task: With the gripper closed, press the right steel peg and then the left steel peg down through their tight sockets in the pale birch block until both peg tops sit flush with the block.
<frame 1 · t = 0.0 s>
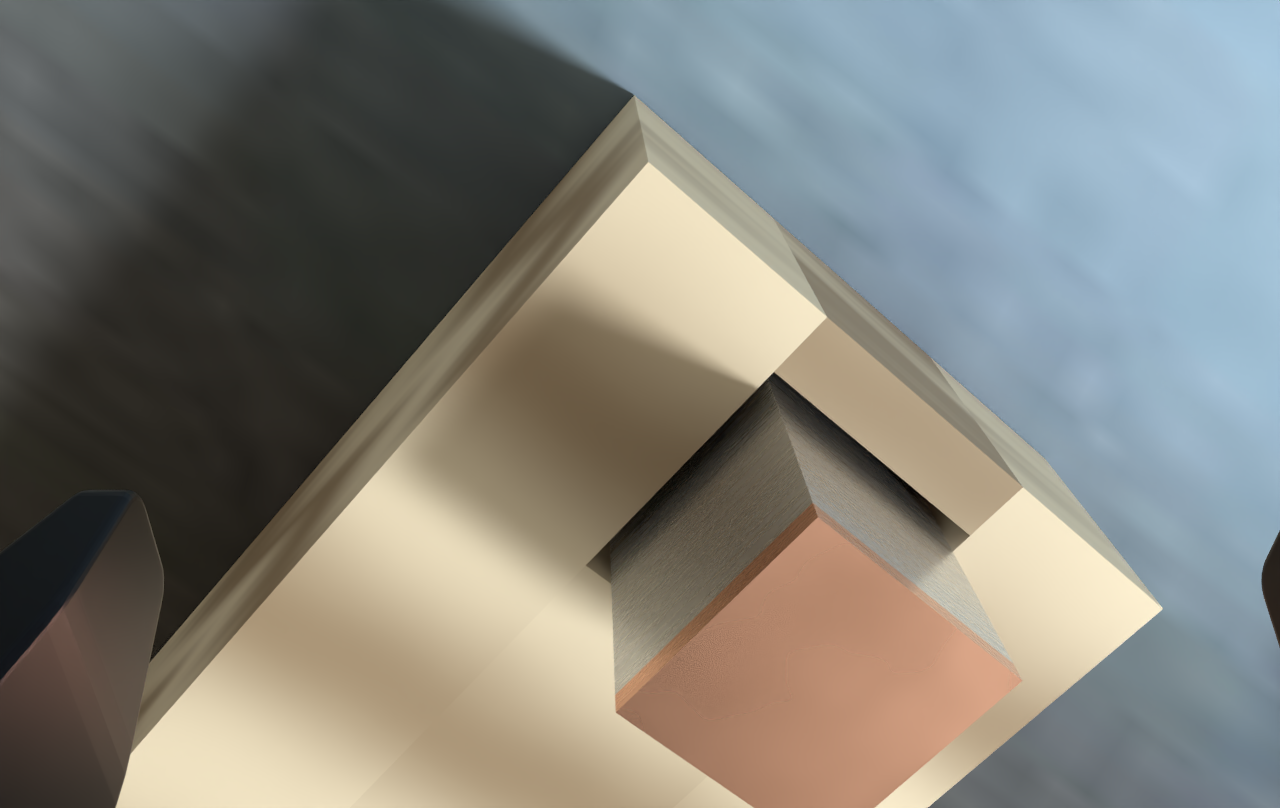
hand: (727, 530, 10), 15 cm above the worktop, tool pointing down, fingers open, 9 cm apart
socket block: (543, 608, 28), on the worktop
peg 1: (787, 585, 20), point 7 cm above the worktop, slide at 4.0 cm
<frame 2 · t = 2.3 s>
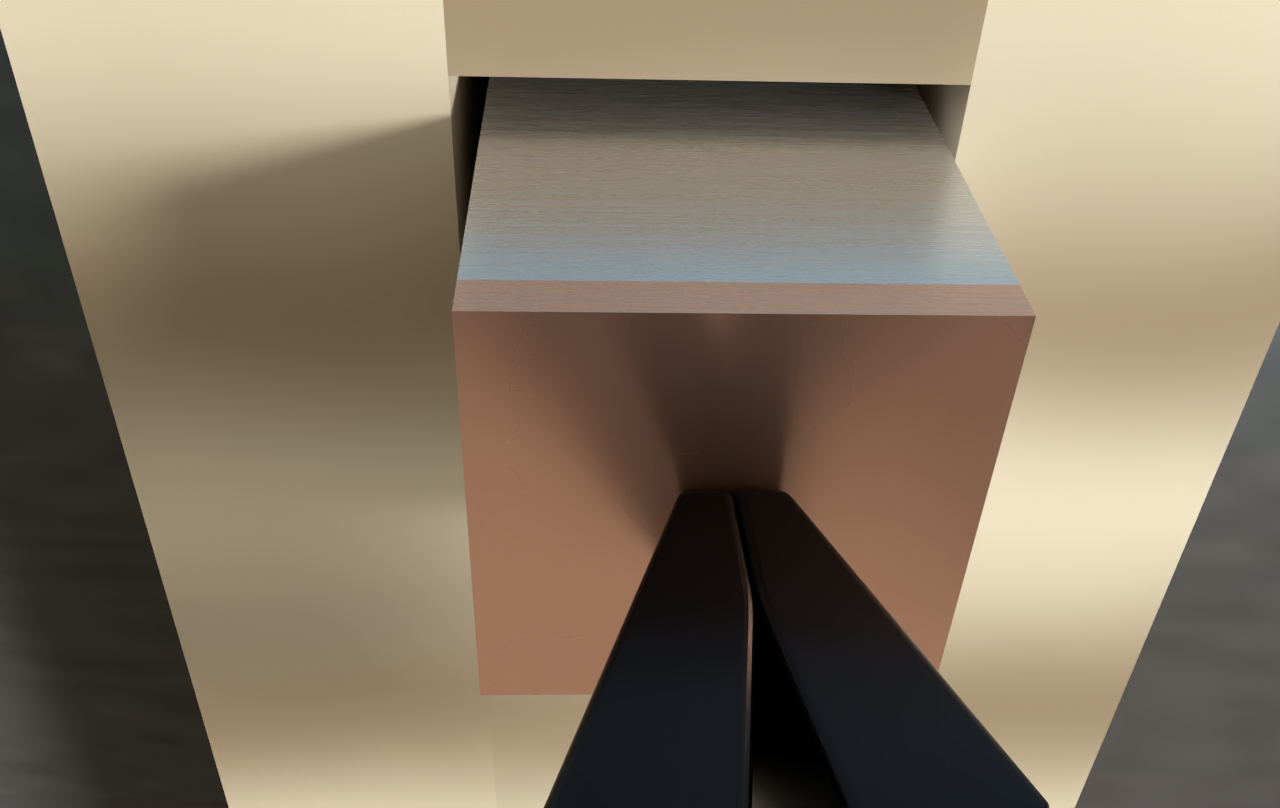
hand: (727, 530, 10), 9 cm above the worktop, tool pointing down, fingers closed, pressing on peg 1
socket block: (648, 431, 21), on the worktop
peg 1: (698, 321, 12), point 6 cm above the worktop, slide at 3.2 cm, touching gripper
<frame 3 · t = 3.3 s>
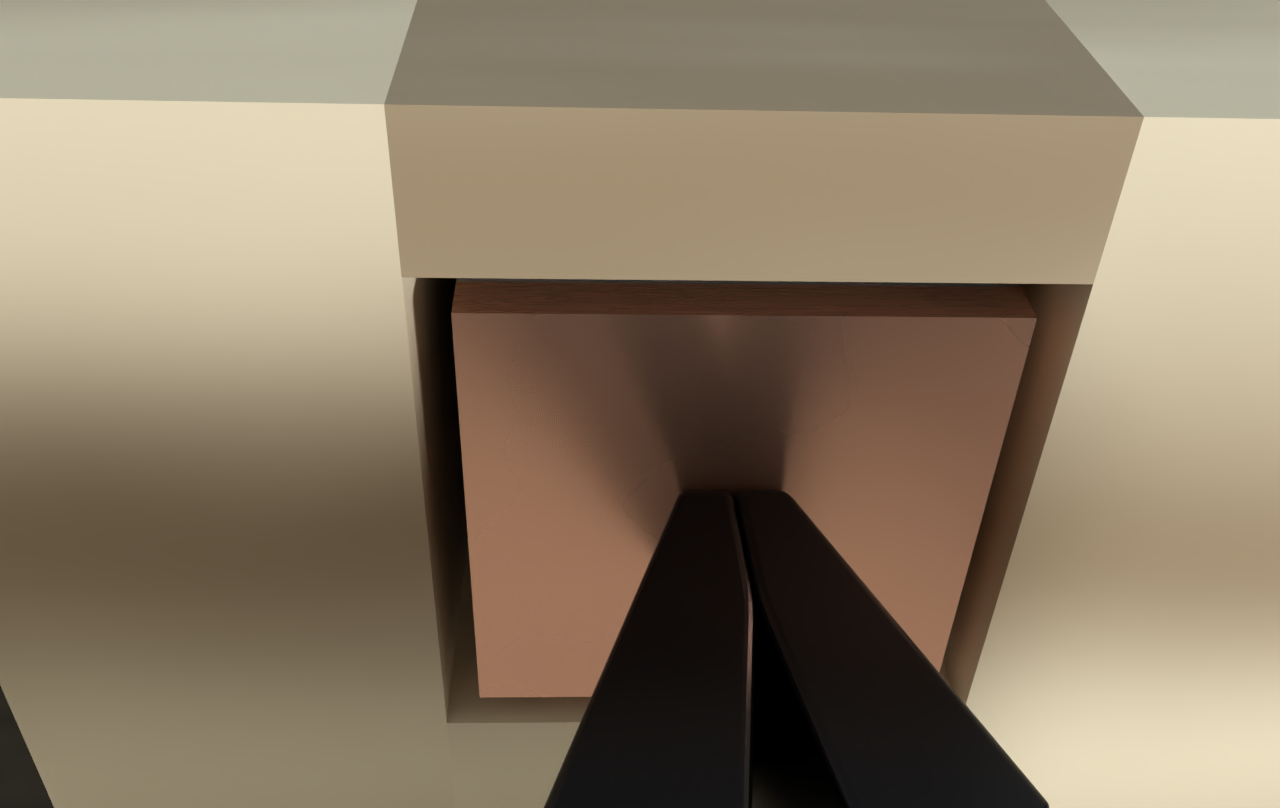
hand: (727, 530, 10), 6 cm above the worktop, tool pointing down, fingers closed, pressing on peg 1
socket block: (657, 571, 18), on the worktop
peg 1: (698, 322, 12), point 3 cm above the worktop, slide at 0.0 cm, touching gripper
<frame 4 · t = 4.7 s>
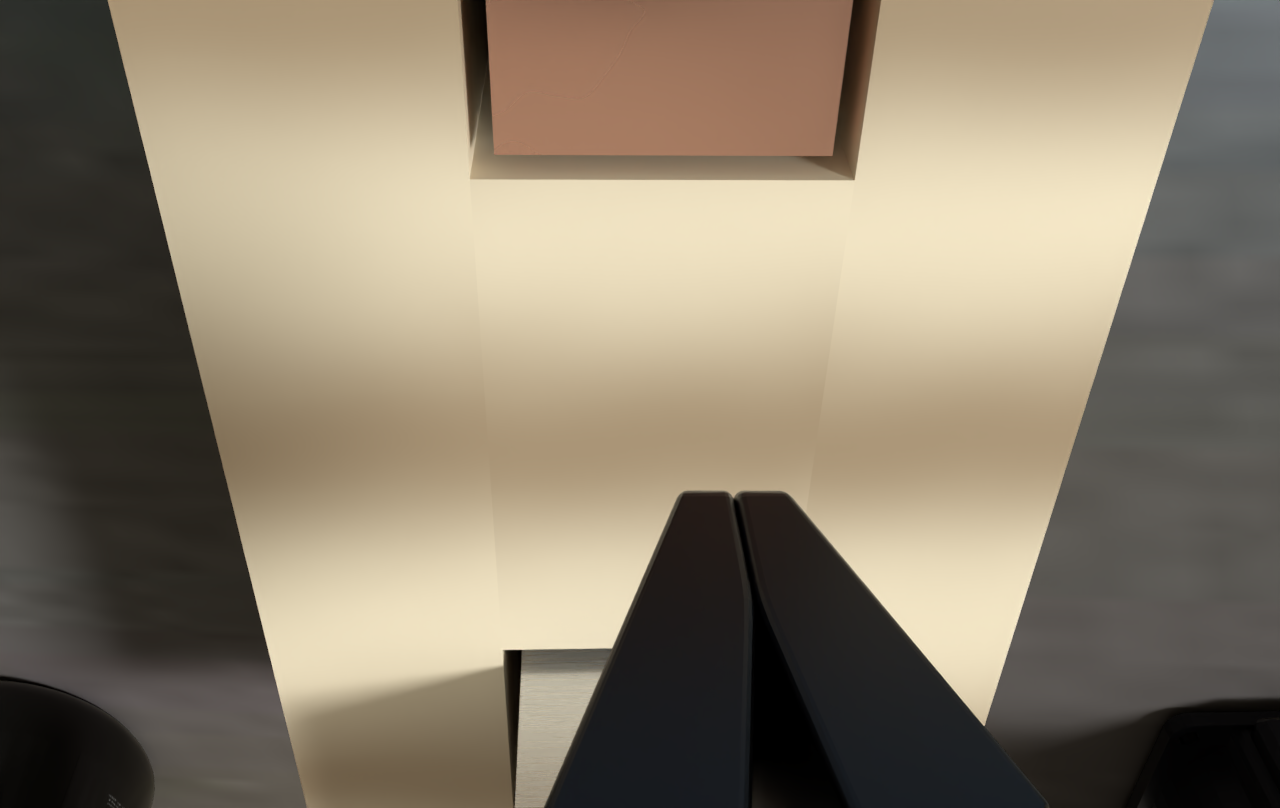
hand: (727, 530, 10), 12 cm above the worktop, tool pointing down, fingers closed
peg 2: (644, 790, 20), point 7 cm above the worktop, slide at 4.0 cm
supplement bottle: (25, 750, 31), on the worktop
socket block: (636, 232, 22), on the worktop
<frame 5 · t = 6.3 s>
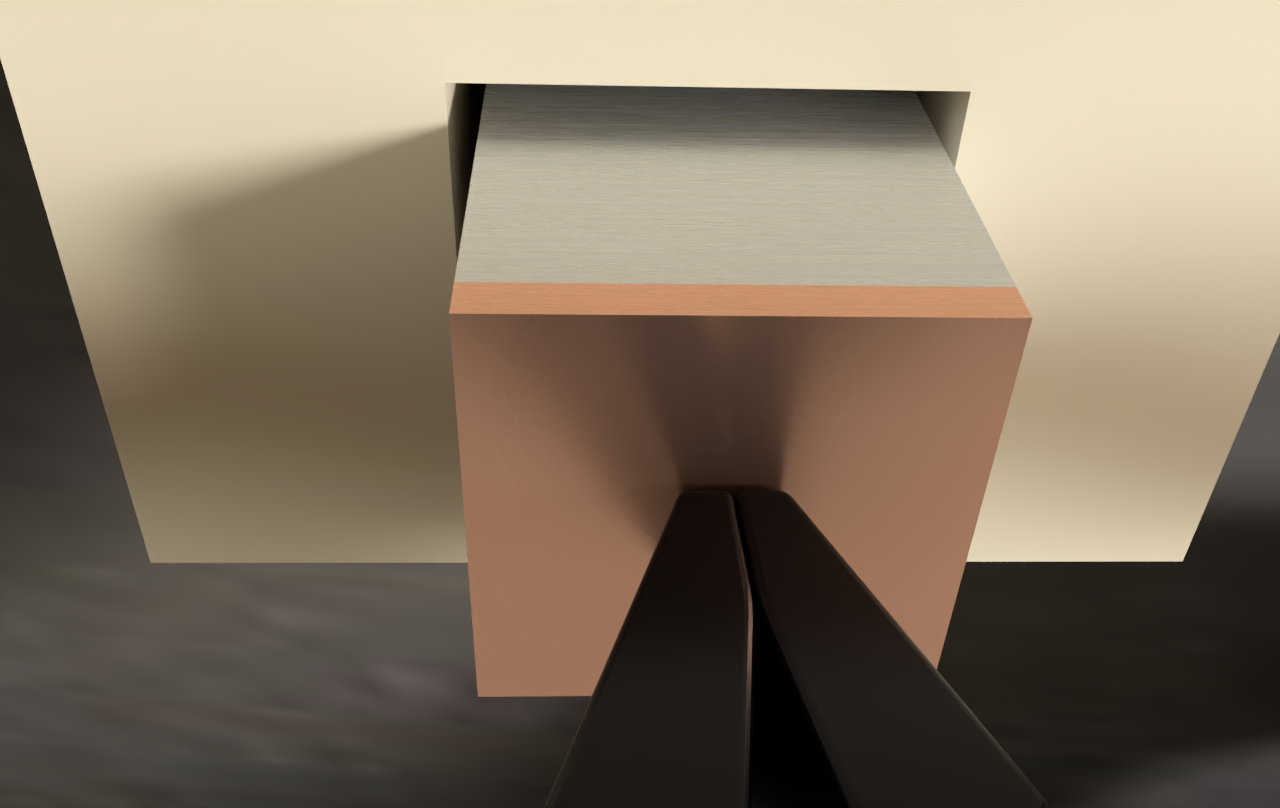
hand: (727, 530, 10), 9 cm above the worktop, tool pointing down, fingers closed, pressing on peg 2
peg 2: (696, 322, 12), point 6 cm above the worktop, slide at 3.1 cm, touching gripper
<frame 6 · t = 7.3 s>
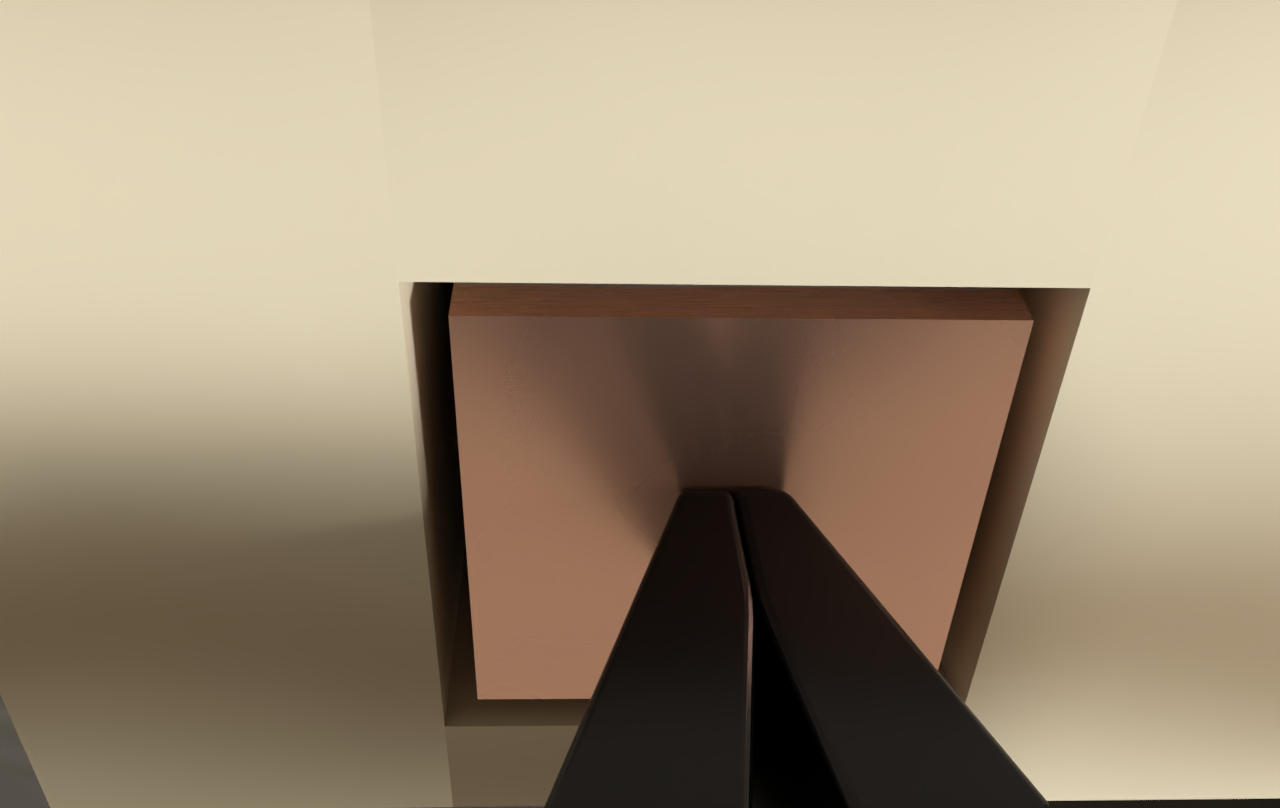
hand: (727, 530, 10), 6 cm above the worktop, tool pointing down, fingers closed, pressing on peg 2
peg 2: (696, 324, 12), point 3 cm above the worktop, slide at -0.1 cm, touching gripper
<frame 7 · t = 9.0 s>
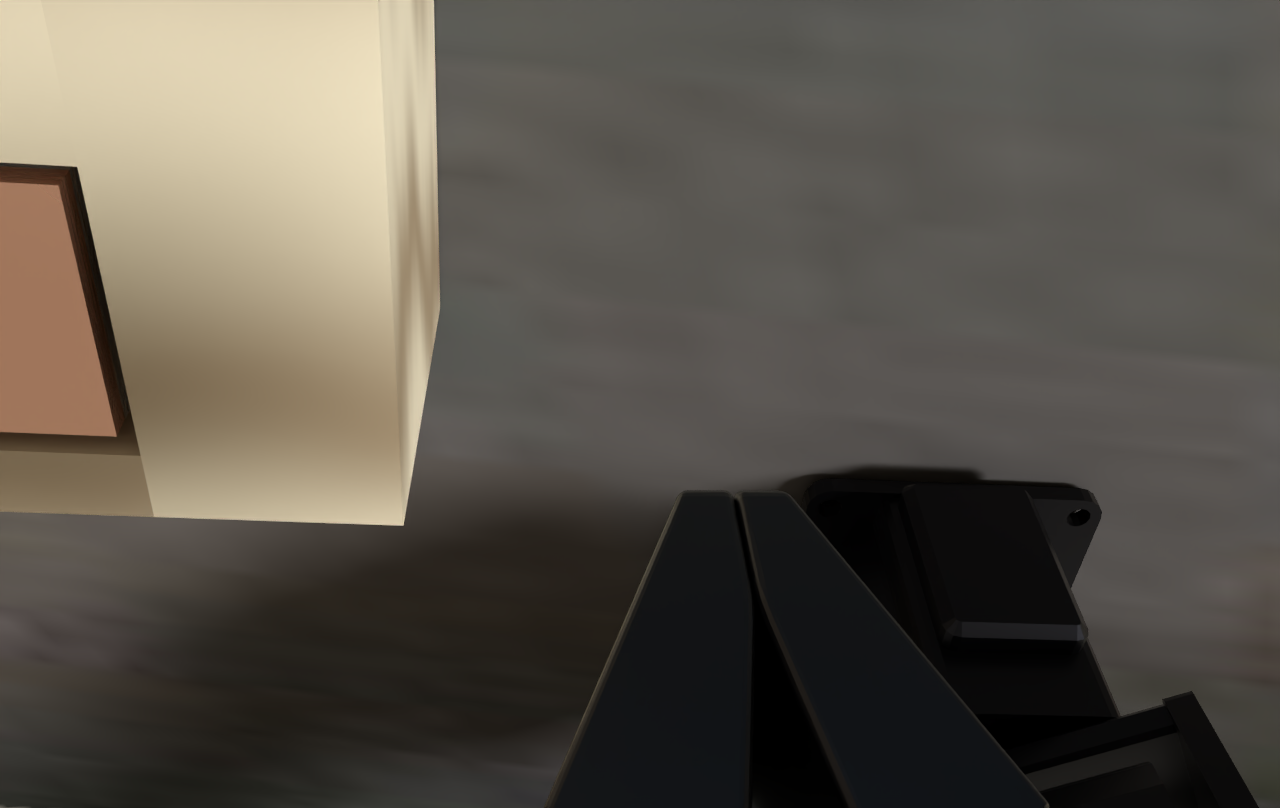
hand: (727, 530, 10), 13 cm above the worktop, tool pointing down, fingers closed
peg 2: (13, 205, 18), point 3 cm above the worktop, slide at -0.1 cm
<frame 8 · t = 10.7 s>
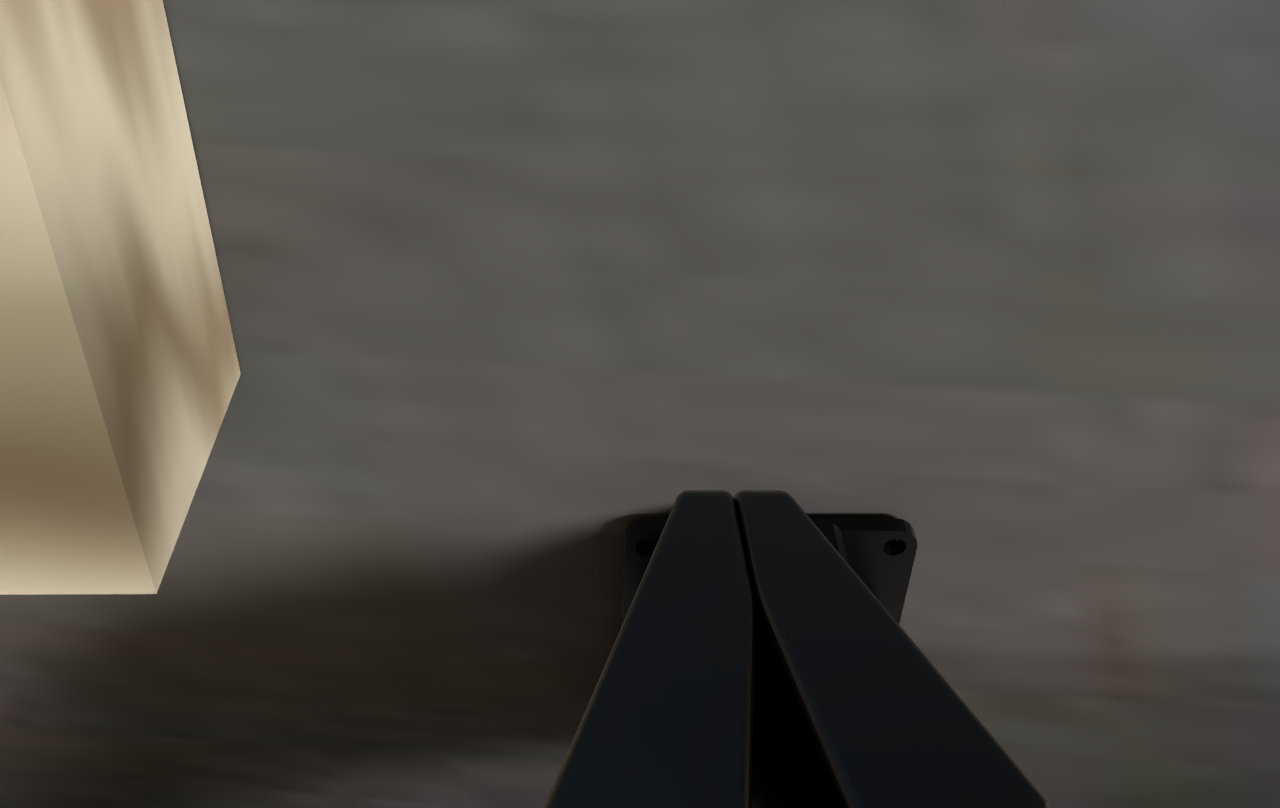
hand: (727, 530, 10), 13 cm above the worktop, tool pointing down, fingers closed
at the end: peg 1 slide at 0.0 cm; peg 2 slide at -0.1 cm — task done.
